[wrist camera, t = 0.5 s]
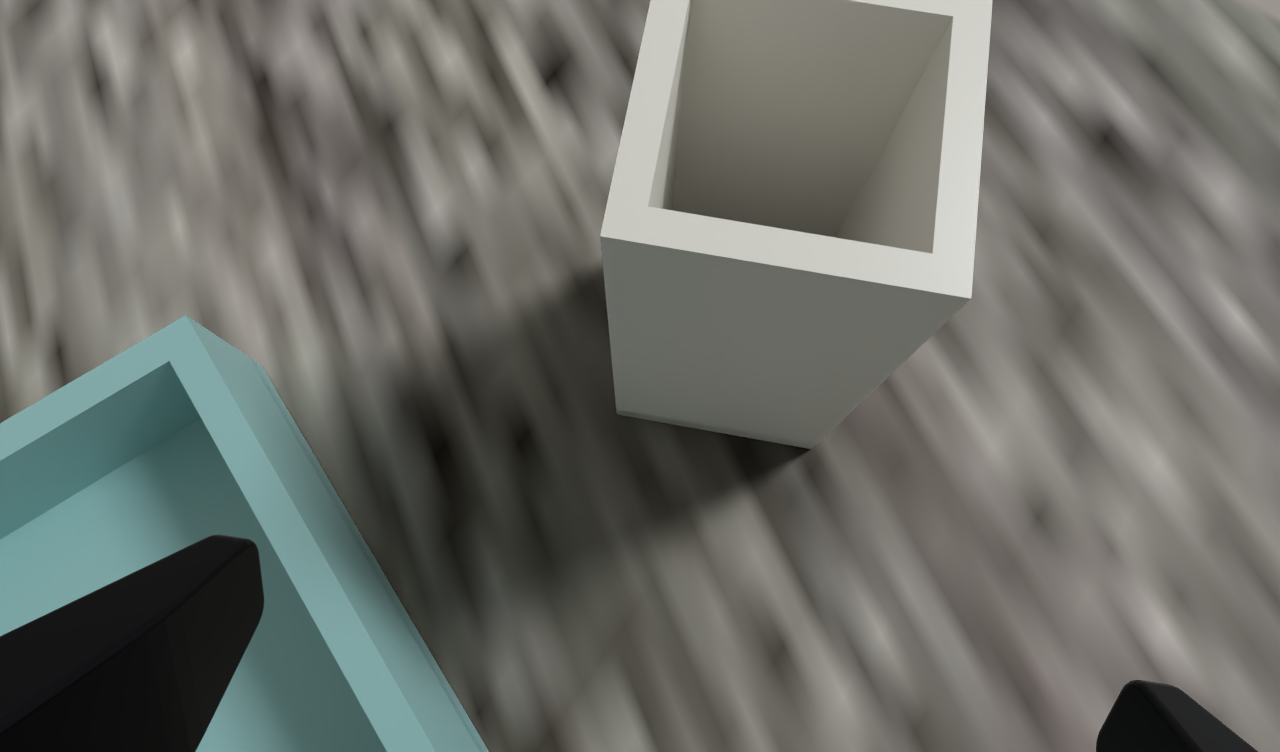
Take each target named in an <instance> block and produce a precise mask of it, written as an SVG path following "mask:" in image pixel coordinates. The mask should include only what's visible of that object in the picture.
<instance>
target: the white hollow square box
mask: <svg viewBox="0 0 1280 752" xmlns="http://www.w3.org/2000/svg"><path fill="white" fill-rule="evenodd" d="M991 13H992V0H651V1H650V6H649V11H648V15H647V20H646V25H645V29H644V34H643V39H642V43H641V48H640V53H639V57H638V62H637V67H636V71H635V76H634V81H633V85H632V90H631V95H630V99H629V104H628V109H627V113H626V118H625V123H624V127H623V132H622V137H621V141H620V146H619V151H618V155H617V160H616V165H615V169H614V174H613V179H612V183H611V188H610V193H609V197H608V202H607V207H606V211H605V216H604V221H603V225H602V230H601V235H600V240H601V251H602V261H603V272H604V283H605V294H606V305H607V315H608V326H609V337H610V348H611V359H612V369H613V380H614V391H615V402H616V413H617V415H623V416H628V417H634V418H640V419H645V420H651V421H656V422H662V423H668V424H673V425H679V426H684V427H690V428H696V429H701V430H707V431H713V432H718V433H724V434H729V435H735V436H741V437H746V438H752V439H757V440H763V441H769V442H774V443H780V444H786V445H791V446H797V447H802V448H808V449H812V448H813V447H814V446H815V445H816V444H817V443H818V442H819V441H820V440H821V439H823V438H824V437H825V436H826V435H827V434H828V433H829V432H830V431H831V430H832V429H833V428H834V427H835V426H836V425H837V424H838V423H840V422H841V421H842V420H843V419H844V418H845V417H846V416H847V415H848V414H849V413H850V412H851V411H852V410H853V409H854V408H855V407H857V406H858V405H859V404H860V403H861V402H862V401H863V400H864V399H865V398H866V397H867V396H868V395H869V394H870V393H871V392H872V391H874V390H875V389H876V388H877V387H878V386H879V385H880V384H881V383H882V382H883V381H884V380H885V379H886V378H887V377H888V376H889V375H891V374H892V373H893V372H894V371H895V370H896V369H897V368H898V367H899V366H900V365H901V364H902V363H903V362H904V361H905V360H906V359H908V358H909V357H910V356H911V355H912V354H913V353H914V352H915V351H916V350H917V349H918V348H919V347H920V346H921V345H922V344H923V343H925V342H926V341H927V340H928V339H929V338H930V337H931V336H932V335H933V334H934V333H935V332H936V331H937V330H938V329H939V328H940V327H942V326H943V325H944V324H945V323H946V322H947V321H948V320H949V319H950V318H951V317H952V316H953V315H954V314H955V313H956V312H957V311H959V310H960V309H961V308H962V307H963V306H964V305H965V304H966V303H967V302H968V301H969V300H970V299H971V295H972V281H973V267H974V253H975V238H976V224H977V210H978V196H979V182H980V168H981V154H982V140H983V126H984V112H985V98H986V84H987V70H988V56H989V42H990V28H991Z"/></svg>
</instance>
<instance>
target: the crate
mask: <svg viewBox="0 0 1280 752" xmlns="http://www.w3.org/2000/svg"><path fill="white" fill-rule="evenodd" d="M211 535H228V536H234V537H240V538H247V539H250V540H252V541H253V542H254V543H255V544H256V546H257V548H258V552H259V559H260V567H261V575H262V583H263V591H264V609H263V613H262V617H261V620H260V622H259V624H258V627H257V629H256V631H255V633H254V635H253V637H252V639H251V641H250V643H249V645H248V647H247V649H246V651H245V653H244V655H243V657H242V659H241V661H240V663H239V665H238V667H237V669H236V671H235V673H234V675H233V678H232V680H231V682H230V684H229V686H228V688H227V690H226V692H225V694H224V696H223V698H222V700H221V702H220V704H219V706H218V708H217V710H216V712H215V714H214V716H213V718H212V720H211V722H210V724H209V726H208V729H207V731H206V733H205V735H204V737H203V738H202V740H201V742H200V744H199V746H198V748H197V750H196V752H489V751H488V749H487V748H486V746H485V744H484V743H483V741H482V739H481V737H480V736H479V734H478V732H477V731H476V729H475V727H474V726H473V724H472V722H471V720H470V719H469V717H468V715H467V714H466V712H465V710H464V709H463V707H462V705H461V703H460V702H459V700H458V698H457V697H456V695H455V693H454V692H453V690H452V688H451V687H450V685H449V683H448V681H447V680H446V678H445V676H444V675H443V673H442V671H441V670H440V668H439V666H438V664H437V663H436V661H435V659H434V658H433V656H432V654H431V653H430V651H429V649H428V647H427V646H426V644H425V642H424V641H423V639H422V637H421V636H420V634H419V632H418V630H417V629H416V627H415V625H414V624H413V622H412V620H411V619H410V617H409V615H408V613H407V612H406V610H405V608H404V607H403V605H402V603H401V602H400V600H399V598H398V596H397V595H396V593H395V591H394V590H393V588H392V586H391V585H390V583H389V581H388V580H387V578H386V576H385V574H384V573H383V571H382V569H381V568H380V566H379V564H378V563H377V561H376V559H375V557H374V556H373V554H372V552H371V551H370V549H369V547H368V546H367V544H366V542H365V540H364V539H363V537H362V535H361V534H360V532H359V530H358V529H357V527H356V525H355V523H354V522H353V520H352V518H351V517H350V515H349V513H348V512H347V510H346V508H345V506H344V505H343V503H342V501H341V500H340V498H339V496H338V495H337V493H336V491H335V489H334V488H333V486H332V484H331V483H330V481H329V479H328V478H327V476H326V474H325V472H324V471H323V469H322V467H321V466H320V464H319V462H318V461H317V459H316V457H315V456H314V454H313V452H312V450H311V449H310V447H309V445H308V444H307V442H306V440H305V439H304V437H303V435H302V433H301V432H300V430H299V428H298V427H297V425H296V423H295V422H294V420H293V418H292V416H291V415H290V413H289V411H288V410H287V408H286V406H285V405H284V403H283V401H282V399H281V398H280V396H279V394H278V393H277V391H276V389H275V388H274V386H273V384H272V382H271V381H270V379H269V377H268V376H267V374H266V372H265V371H264V369H263V367H262V366H261V365H260V364H258V363H257V362H255V361H254V360H252V359H251V358H249V357H248V356H246V355H245V354H243V353H242V352H240V351H239V350H237V349H236V348H234V347H233V346H231V345H230V344H228V343H227V342H225V341H224V340H222V339H221V338H219V337H218V336H216V335H215V334H213V333H212V332H210V331H209V330H207V329H206V328H204V327H203V326H201V325H200V324H198V323H197V322H195V321H194V320H192V319H191V318H189V317H188V316H186V315H185V316H184V317H182V318H180V319H178V320H177V321H175V322H173V323H172V324H170V325H168V326H166V327H165V328H163V329H161V330H160V331H158V332H156V333H154V334H153V335H151V336H149V337H148V338H146V339H144V340H142V341H141V342H139V343H137V344H135V345H134V346H132V347H130V348H129V349H127V350H125V351H123V352H122V353H120V354H118V355H117V356H115V357H113V358H111V359H110V360H108V361H106V362H105V363H103V364H101V365H99V366H98V367H96V368H94V369H93V370H91V371H89V372H87V373H86V374H84V375H82V376H81V377H79V378H77V379H75V380H74V381H72V382H70V383H69V384H67V385H65V386H63V387H62V388H60V389H58V390H57V391H55V392H53V393H51V394H50V395H48V396H46V397H45V398H43V399H41V400H39V401H38V402H36V403H34V404H33V405H31V406H29V407H27V408H26V409H24V410H22V411H21V412H19V413H17V414H15V415H14V416H12V417H10V418H9V419H7V420H5V421H3V422H2V423H0V636H2V635H4V634H6V633H8V632H10V631H12V630H14V629H16V628H18V627H21V626H23V625H25V624H27V623H29V622H31V621H33V620H35V619H37V618H39V617H41V616H44V615H46V614H48V613H50V612H52V611H54V610H56V609H58V608H60V607H62V606H64V605H66V604H69V603H71V602H73V601H75V600H77V599H79V598H81V597H83V596H85V595H87V594H89V593H91V592H94V591H96V590H98V589H100V588H102V587H104V586H106V585H108V584H110V583H112V582H114V581H117V580H119V579H121V578H123V577H125V576H127V575H129V574H131V573H133V572H135V571H137V570H139V569H142V568H144V567H146V566H148V565H150V564H152V563H154V562H156V561H158V560H160V559H162V558H165V557H167V556H169V555H171V554H173V553H175V552H177V551H179V550H181V549H183V548H185V547H187V546H190V545H192V544H194V543H196V542H198V541H200V540H202V539H204V538H206V537H209V536H211Z"/></svg>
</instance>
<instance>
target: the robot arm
mask: <svg viewBox="0 0 1280 752" xmlns="http://www.w3.org/2000/svg"><path fill="white" fill-rule="evenodd" d="M263 609H264V591H263V583H262V575H261V567H260V559H259V552H258V548H257V546H256V544H255V543H254V542H253V541H252V540H250V539H247V538H240V537H234V536H228V535H211V536H209V537H206V538H204V539H202V540H200V541H198V542H196V543H194V544H192V545H190V546H187V547H185V548H183V549H181V550H179V551H177V552H175V553H173V554H171V555H169V556H167V557H165V558H162V559H160V560H158V561H156V562H154V563H152V564H150V565H148V566H146V567H144V568H142V569H139V570H137V571H135V572H133V573H131V574H129V575H127V576H125V577H123V578H121V579H119V580H117V581H114V582H112V583H110V584H108V585H106V586H104V587H102V588H100V589H98V590H96V591H94V592H91V593H89V594H87V595H85V596H83V597H81V598H79V599H77V600H75V601H73V602H71V603H69V604H66V605H64V606H62V607H60V608H58V609H56V610H54V611H52V612H50V613H48V614H46V615H44V616H41V617H39V618H37V619H35V620H33V621H31V622H29V623H27V624H25V625H23V626H21V627H18V628H16V629H14V630H12V631H10V632H8V633H6V634H4V635H2V636H0V752H196V750H197V748H198V746H199V744H200V742H201V740H202V738H203V737H204V735H205V733H206V731H207V729H208V726H209V724H210V722H211V720H212V718H213V716H214V714H215V712H216V710H217V708H218V706H219V704H220V702H221V700H222V698H223V696H224V694H225V692H226V690H227V688H228V686H229V684H230V682H231V680H232V678H233V675H234V673H235V671H236V669H237V667H238V665H239V663H240V661H241V659H242V657H243V655H244V653H245V651H246V649H247V647H248V645H249V643H250V641H251V639H252V637H253V635H254V633H255V631H256V629H257V627H258V624H259V622H260V620H261V617H262V613H263ZM1096 752H1258V751H1256V750H1255V749H1254V748H1253V747H1251V746H1250V745H1249V744H1248V743H1246V742H1245V741H1244V740H1243V739H1241V738H1240V737H1239V736H1238V735H1237V734H1235V733H1234V732H1233V731H1232V730H1230V729H1229V728H1228V727H1227V726H1225V725H1224V724H1223V723H1222V722H1220V721H1219V720H1218V719H1217V718H1215V717H1214V716H1213V715H1212V714H1210V713H1209V712H1208V711H1207V710H1205V709H1204V708H1203V707H1202V706H1200V705H1199V704H1198V703H1197V702H1195V701H1194V700H1193V699H1192V698H1190V697H1189V696H1188V695H1187V694H1185V693H1184V692H1183V691H1181V690H1180V689H1179V688H1177V687H1174V686H1171V685H1168V684H1162V683H1155V682H1149V681H1143V680H1133V681H1130V682H1129V683H1127V684H1126V685H1125V686H1124V687H1123V689H1122V690H1121V692H1120V694H1119V696H1118V698H1117V700H1116V702H1115V703H1114V705H1113V707H1112V709H1111V711H1110V713H1109V715H1108V717H1107V718H1106V720H1105V722H1104V724H1103V726H1102V728H1101V730H1100V732H1099V734H1098V738H1097V743H1096Z"/></svg>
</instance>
